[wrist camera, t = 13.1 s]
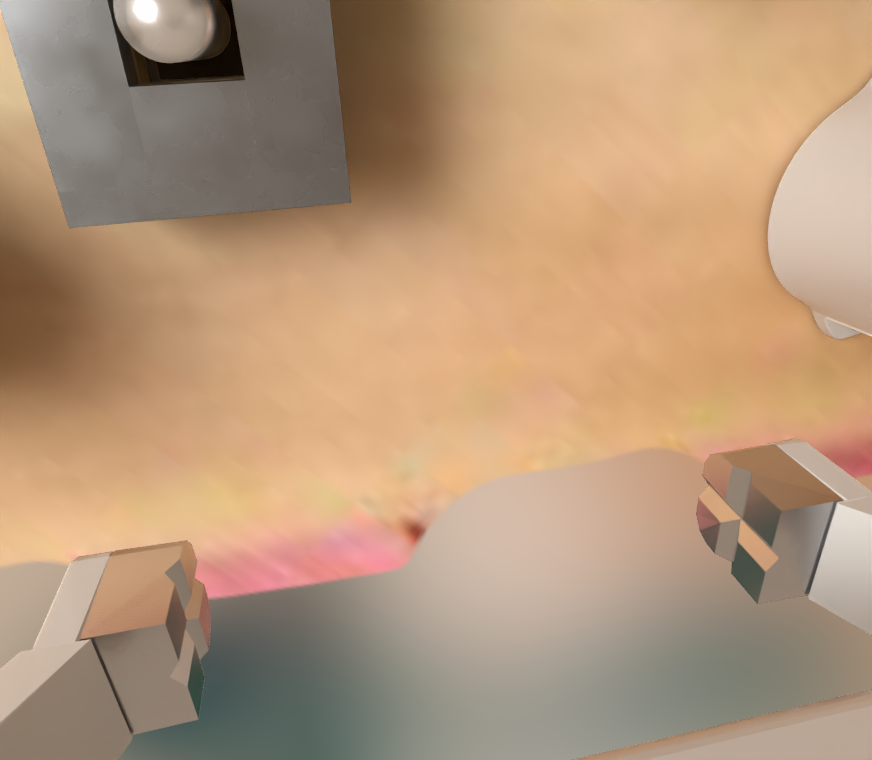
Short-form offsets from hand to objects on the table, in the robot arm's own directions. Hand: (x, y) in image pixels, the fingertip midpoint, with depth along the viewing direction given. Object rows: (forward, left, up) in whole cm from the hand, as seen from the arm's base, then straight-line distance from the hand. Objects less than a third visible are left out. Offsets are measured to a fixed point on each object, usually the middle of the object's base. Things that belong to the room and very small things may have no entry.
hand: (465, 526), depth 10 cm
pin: (+6, -8, -29) cm, 31 cm away
